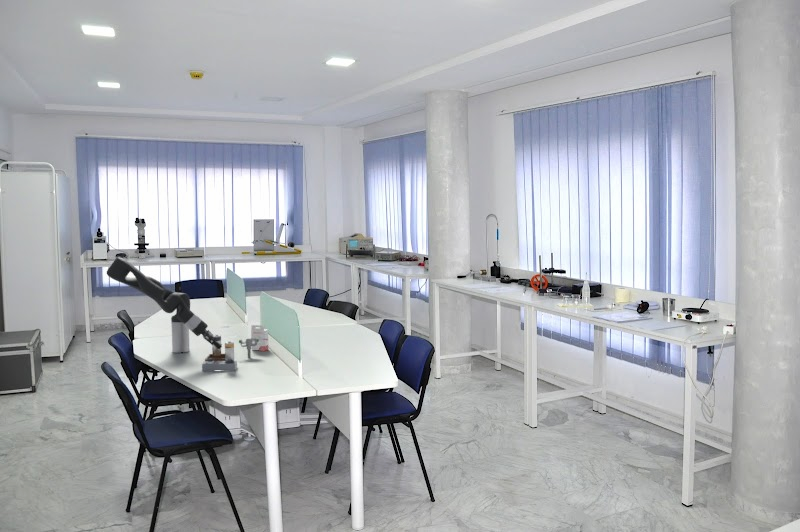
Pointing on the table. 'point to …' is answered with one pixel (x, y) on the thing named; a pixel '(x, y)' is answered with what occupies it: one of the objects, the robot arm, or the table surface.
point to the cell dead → (214, 349)
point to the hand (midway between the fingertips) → (220, 346)
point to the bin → (216, 357)
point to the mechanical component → (249, 344)
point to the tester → (219, 366)
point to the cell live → (229, 352)
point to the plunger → (210, 361)
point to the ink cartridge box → (260, 337)
